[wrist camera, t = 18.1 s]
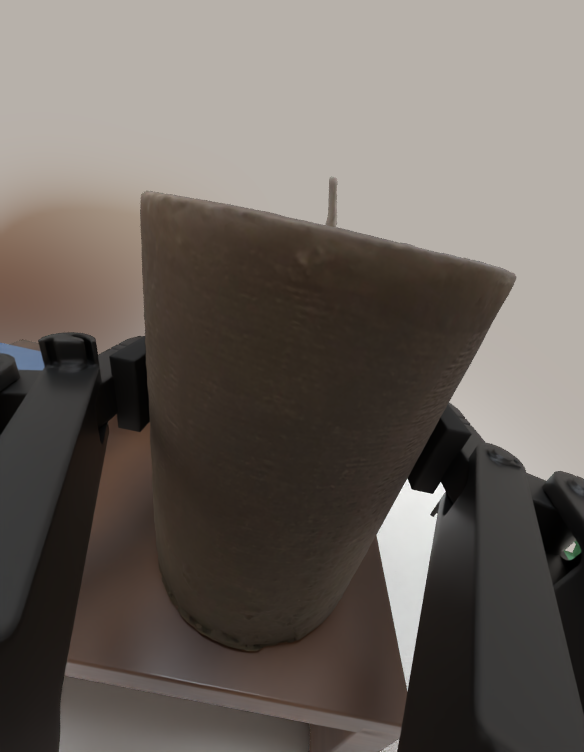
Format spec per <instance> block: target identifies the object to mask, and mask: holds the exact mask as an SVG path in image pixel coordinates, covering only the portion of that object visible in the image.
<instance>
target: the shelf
mask: <svg viewBox="0 0 584 752" xmlns="http://www.w3.org/2000/svg"><path fill="white" fill-rule="evenodd" d="M9 345H13V346H18V347H22V348H27V349H32V350H36V351H40V347H39V343H36V342H32V341H27V340H19V341H16V342H14V343H11V344H9ZM108 426H109V435H108V441H107V446H106V452H105V457H104V463H103V468H102V473H101V479H100V484H99V490H98V495H97V501H96V506H95V511H94V517H93V522H92V528H91V533H90V539H89V544H88V550H87V555H86V560H85V566H84V571H83V577H82V582H81V588H80V593H79V598H78V604H77V609H76V615H75V620H74V626H73V631H72V636H71V642H70V647H69V653H68V658H67V664H66V669H65V675H64V676H68V677H73V678H79V679H84V680H89V681H94V682H99V683H104V684H109V685H115V686H120V687H125V688H130V689H135V690H140V691H146V692H151V693H156V694H161V695H166V696H171V697H177V698H182V699H187V700H192V701H197V702H202V703H208V704H213V705H218V706H223V707H228V708H233V709H238V710H244V711H249V712H254V713H259V714H264V715H269V716H275V717H280V718H285V719H290V720H295V721H300V722H306V723H310V738H309V752H379V751H381V750H382V749H384V748H385V747H387V746H389V745H390V744H392V743H393V742H395V741H396V740H398V739H399V738H400V733H401V728H402V722H403V716H404V710H405V704H406V698H407V688H406V683H405V678H404V673H403V668H402V663H401V658H400V653H399V648H398V643H397V638H396V633H395V628H394V622H393V617H392V612H391V607H390V602H389V597H388V592H387V587H386V582H385V577H384V572H383V567H382V562H381V557H380V552H379V546H378V541H377V536H375V538H374V540H373V542H372V543H371V545H370V547H369V549H368V551H367V553H366V555H365V557H364V558H363V560H362V562H361V563H360V565H359V567H358V569H357V570H356V572H355V574H354V575H353V577H352V579H351V581H350V583H349V585H348V586H347V588H346V590H345V592H344V594H343V596H342V598H341V599H340V600H339V602H338V604H337V605H336V607H335V608H334V610H333V611H332V612H331V614H330V615H329V616H328V617H327V618H326V620H325V621H324V622H322V623H321V624H320V625H319V626H318V627H317V628H315V629H314V630H313V631H311V632H310V633H308V634H307V635H306V636H304V637H303V638H301V639H300V640H297V641H294V642H291V643H288V642H282V643H278V644H277V645H273V646H266V647H263V648H261V649H260V650H257V651H246V650H244V649H237V648H232V647H229V646H226V645H223V644H222V643H220V642H218V641H216V640H212V639H211V638H210V637H208V636H206V635H204V634H201V633H200V632H199V631H198V630H196V629H195V628H194V627H193V626H192V625H191V624H189V623H188V622H187V621H186V620H185V619H184V618H183V617H182V616H181V614H180V612H179V611H178V606H175V605H174V604H173V603H172V601H171V600H170V598H169V596H168V593H167V591H166V589H165V586H164V584H163V582H162V575H161V573H160V570H159V564H158V552H157V547H156V531H155V523H154V504H153V489H152V461H151V447H150V422H149V423H148V424H147V425H146V426H145V427H144V429H143V430H142V431H141V432H137V431H132V430H127V429H122V428H118V421H117V414H116V415H115V416H114V417H113V418H112V419H110V420H109V421H108Z"/></svg>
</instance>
